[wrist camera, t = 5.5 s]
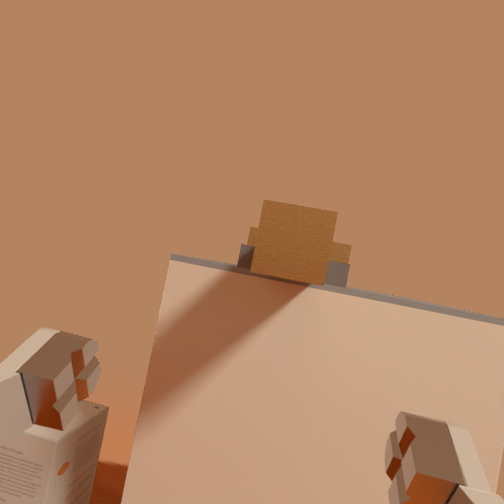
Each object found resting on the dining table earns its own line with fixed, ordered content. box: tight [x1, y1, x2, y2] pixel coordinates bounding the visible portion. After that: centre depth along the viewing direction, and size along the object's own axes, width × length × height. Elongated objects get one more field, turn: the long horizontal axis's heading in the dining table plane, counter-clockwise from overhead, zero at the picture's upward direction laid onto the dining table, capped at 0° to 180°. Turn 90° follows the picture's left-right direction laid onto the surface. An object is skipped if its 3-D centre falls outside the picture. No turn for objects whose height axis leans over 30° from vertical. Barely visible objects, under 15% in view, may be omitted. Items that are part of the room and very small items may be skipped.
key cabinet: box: [121, 244, 504, 504], centre depth 32 cm, size 22×18×28 cm
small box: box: [0, 400, 109, 504], centre depth 34 cm, size 8×6×10 cm
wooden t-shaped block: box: [247, 200, 351, 286], centre depth 28 cm, size 10×26×4 cm, turn 173°
